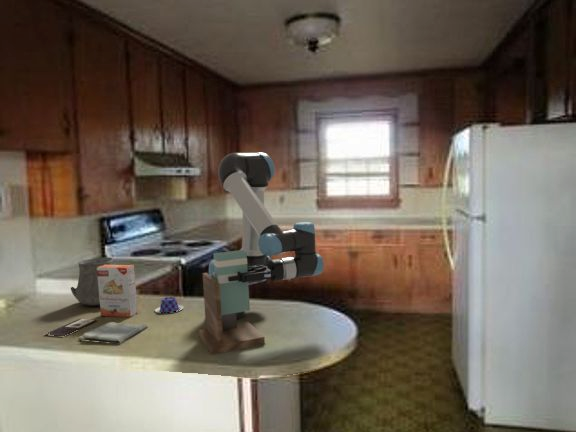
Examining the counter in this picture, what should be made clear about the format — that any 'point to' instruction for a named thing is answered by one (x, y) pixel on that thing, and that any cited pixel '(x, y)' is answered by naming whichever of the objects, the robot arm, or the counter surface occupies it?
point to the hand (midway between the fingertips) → (216, 278)
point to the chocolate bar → (72, 327)
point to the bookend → (229, 321)
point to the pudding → (169, 305)
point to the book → (234, 292)
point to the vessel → (89, 281)
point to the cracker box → (117, 290)
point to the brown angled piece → (213, 333)
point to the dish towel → (113, 332)
